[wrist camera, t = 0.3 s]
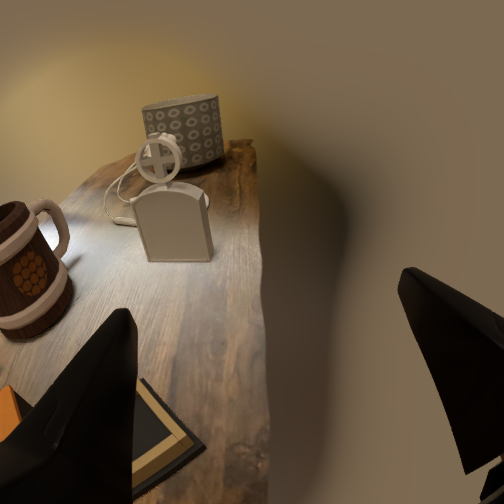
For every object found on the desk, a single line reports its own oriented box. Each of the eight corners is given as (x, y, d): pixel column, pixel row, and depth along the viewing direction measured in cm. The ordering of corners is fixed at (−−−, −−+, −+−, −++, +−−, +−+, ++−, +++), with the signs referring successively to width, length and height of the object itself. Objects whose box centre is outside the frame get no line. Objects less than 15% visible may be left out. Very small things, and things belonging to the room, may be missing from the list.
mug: (35, 358, 27) (-32, 261, 18) (-12, 327, 31) (-60, 249, 22) (111, 261, 43) (80, 172, 34) (55, 253, 46) (26, 180, 37)
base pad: (206, 448, 20) (196, 435, 18) (127, 504, 15) (106, 497, 13) (147, 383, 25) (133, 363, 23) (79, 430, 20) (58, 413, 18)
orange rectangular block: (78, 465, 17) (22, 431, 13) (43, 485, 15) (-15, 455, 10) (57, 426, 20) (9, 384, 16) (26, 446, 18) (-26, 408, 13)
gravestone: (154, 250, 44) (125, 136, 33) (213, 250, 43) (194, 126, 32) (148, 261, 42) (115, 142, 31) (209, 262, 41) (187, 131, 30)
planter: (146, 185, 67) (132, 113, 56) (161, 161, 82) (151, 102, 71) (225, 174, 67) (216, 98, 56) (225, 152, 82) (218, 91, 72)
